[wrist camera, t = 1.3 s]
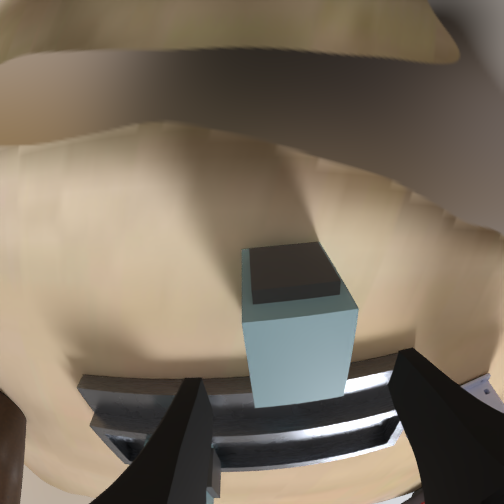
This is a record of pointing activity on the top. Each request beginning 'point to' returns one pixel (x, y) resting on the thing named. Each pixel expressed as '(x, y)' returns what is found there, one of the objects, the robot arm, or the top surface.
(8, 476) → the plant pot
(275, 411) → the rail
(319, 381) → the lidded storage box
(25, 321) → the top surface
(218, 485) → the light blue block
